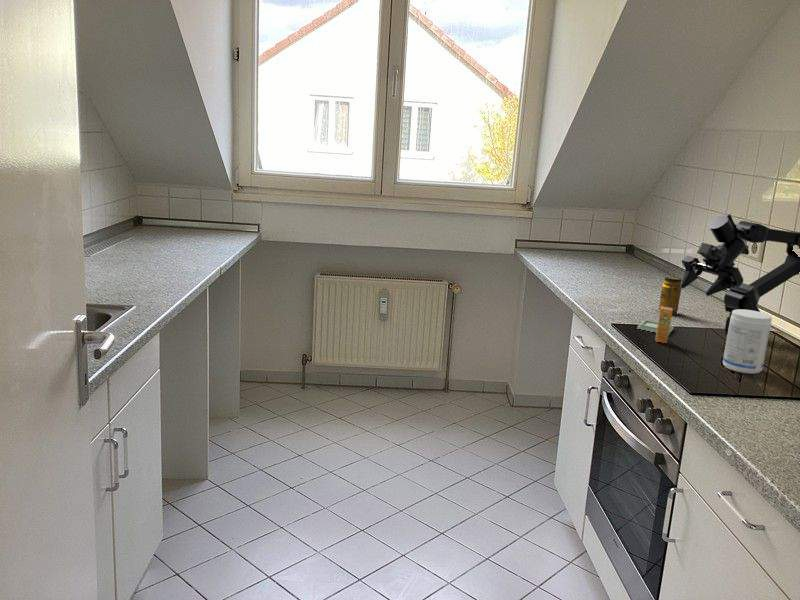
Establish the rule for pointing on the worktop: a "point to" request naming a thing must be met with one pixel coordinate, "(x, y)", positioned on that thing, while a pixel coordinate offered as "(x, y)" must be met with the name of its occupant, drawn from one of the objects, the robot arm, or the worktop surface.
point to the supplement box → (663, 324)
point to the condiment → (671, 294)
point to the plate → (651, 326)
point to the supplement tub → (747, 341)
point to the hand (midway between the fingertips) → (693, 291)
